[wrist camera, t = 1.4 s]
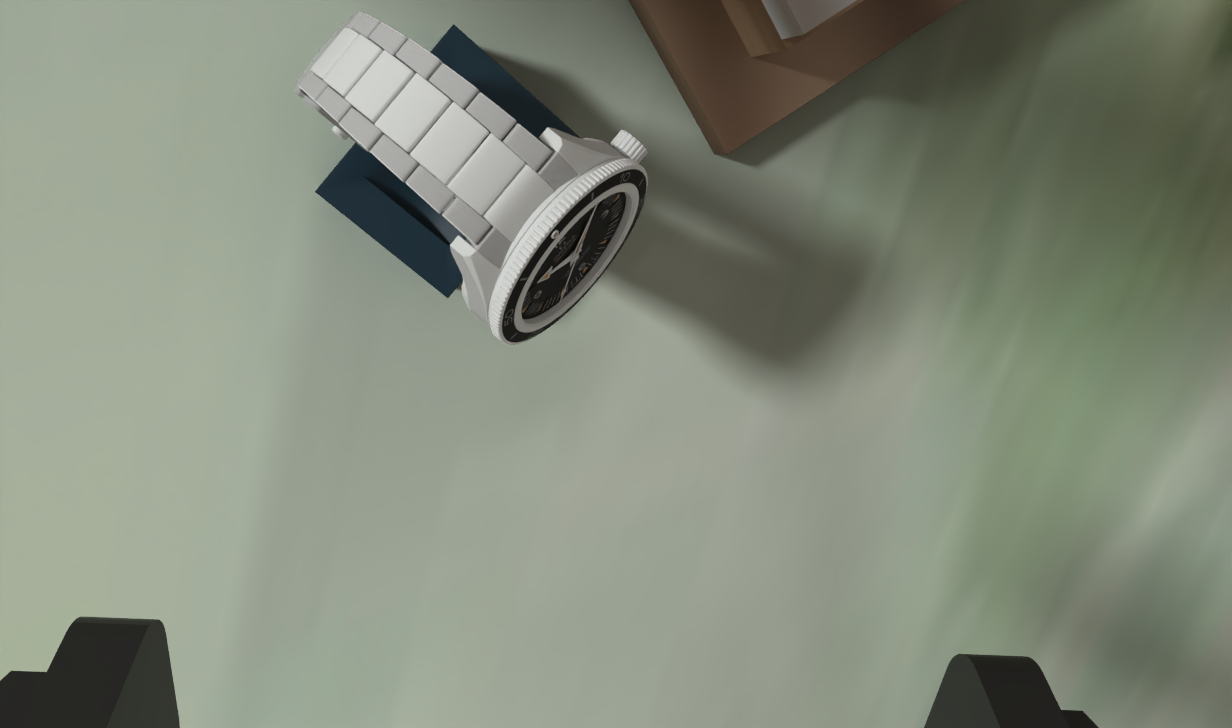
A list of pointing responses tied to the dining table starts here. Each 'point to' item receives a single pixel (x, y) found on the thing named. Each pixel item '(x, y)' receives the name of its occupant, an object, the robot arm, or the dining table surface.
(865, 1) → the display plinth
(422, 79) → the watch
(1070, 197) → the dining table surface
